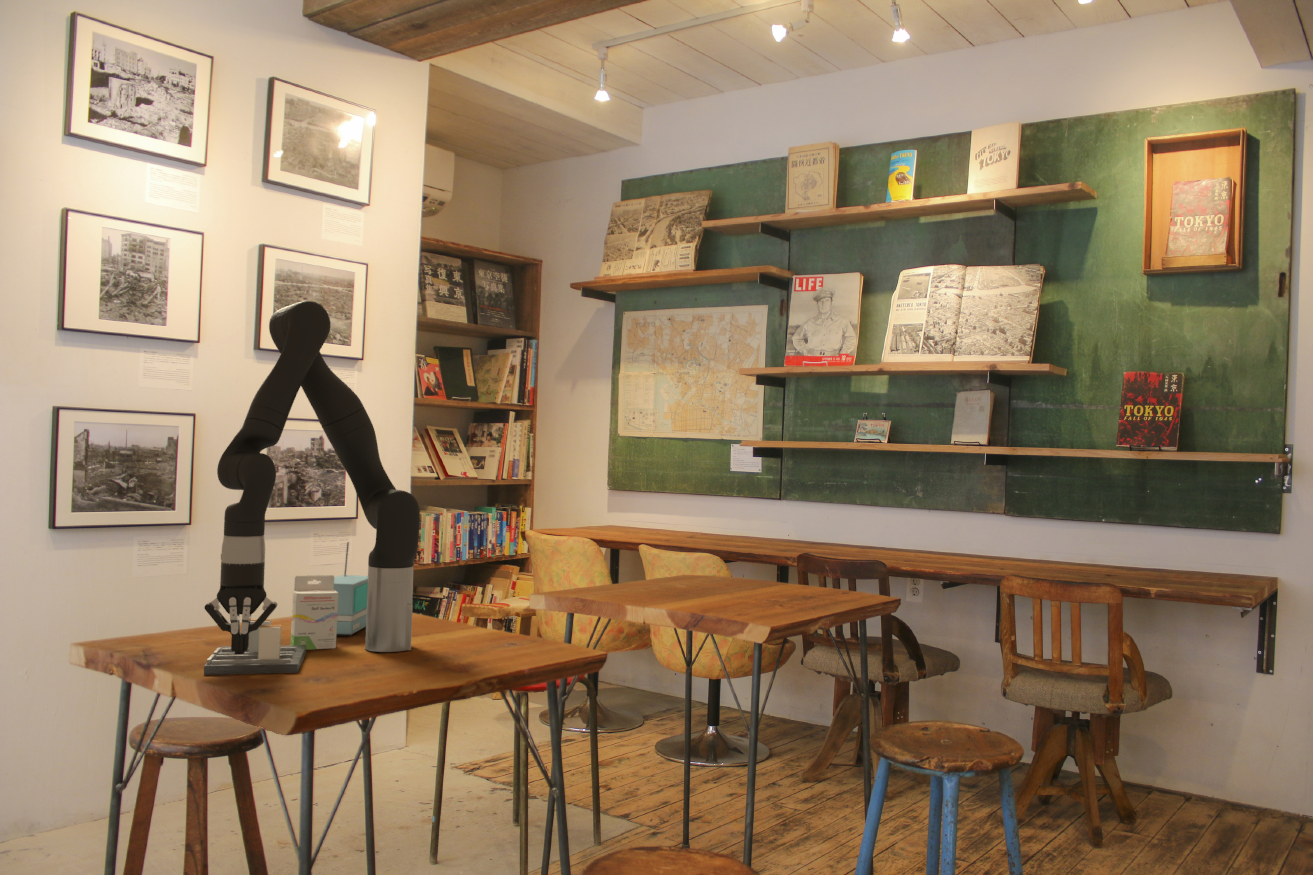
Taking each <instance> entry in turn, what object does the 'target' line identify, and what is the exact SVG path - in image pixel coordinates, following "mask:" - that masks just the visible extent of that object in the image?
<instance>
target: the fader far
mask: <svg viewBox="0 0 1313 875" xmlns="http://www.w3.org/2000/svg"><path fill="white" fill-rule="evenodd" d="M257 619H258V618H256V619H255V618H253V619H252V618H251V622H250V624H252V623H255V621H256V620H257ZM262 625H272V618H271V619H270V618H267V619H266V620H265V621H264V622H263V623H262ZM259 630H260V627H259V628H258V629H257V630H254V631H252V632H250V633H249V652H259Z"/></svg>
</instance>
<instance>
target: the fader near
mask: <svg viewBox="0 0 1313 875" xmlns="http://www.w3.org/2000/svg"><path fill="white" fill-rule="evenodd" d="M281 642H282V624H271V625H261V626H260V630H259V655H258V659H279V658H280V648H281V645H282V643H281Z"/></svg>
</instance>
